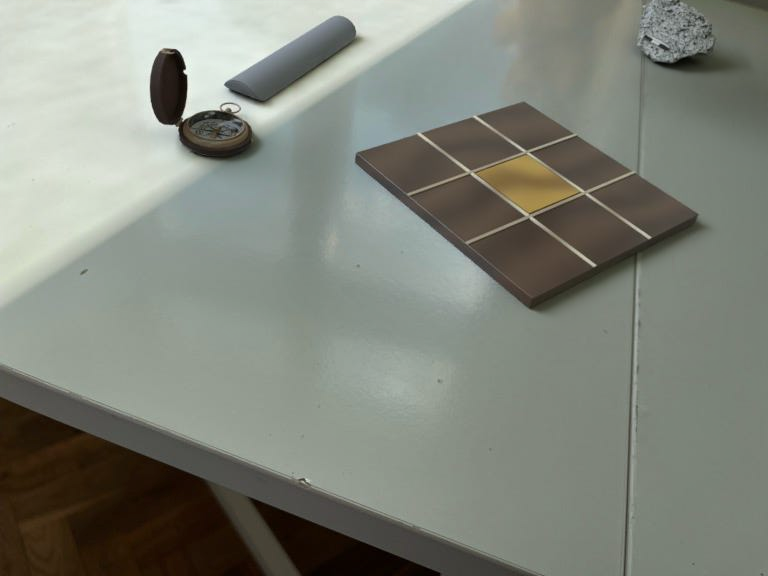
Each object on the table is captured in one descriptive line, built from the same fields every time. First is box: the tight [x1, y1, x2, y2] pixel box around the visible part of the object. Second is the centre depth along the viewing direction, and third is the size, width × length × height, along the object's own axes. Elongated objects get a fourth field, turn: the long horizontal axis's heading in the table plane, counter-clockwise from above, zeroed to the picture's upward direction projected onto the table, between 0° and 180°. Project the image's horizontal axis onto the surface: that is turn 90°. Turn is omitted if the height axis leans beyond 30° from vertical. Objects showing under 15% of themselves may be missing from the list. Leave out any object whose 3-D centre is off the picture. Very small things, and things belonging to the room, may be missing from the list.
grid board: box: [354, 101, 700, 309], centre depth 67 cm, size 21×21×1 cm
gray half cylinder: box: [223, 15, 357, 101], centre depth 79 cm, size 4×20×2 cm, turn 153°
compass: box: [149, 47, 254, 158], centre depth 65 cm, size 8×8×7 cm
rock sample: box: [636, 0, 719, 64], centre depth 93 cm, size 10×8×9 cm
